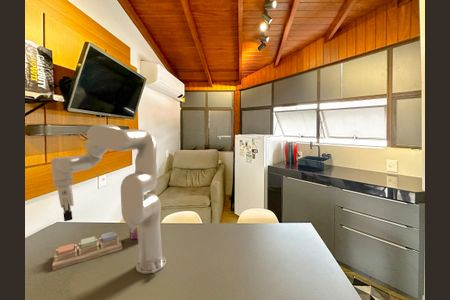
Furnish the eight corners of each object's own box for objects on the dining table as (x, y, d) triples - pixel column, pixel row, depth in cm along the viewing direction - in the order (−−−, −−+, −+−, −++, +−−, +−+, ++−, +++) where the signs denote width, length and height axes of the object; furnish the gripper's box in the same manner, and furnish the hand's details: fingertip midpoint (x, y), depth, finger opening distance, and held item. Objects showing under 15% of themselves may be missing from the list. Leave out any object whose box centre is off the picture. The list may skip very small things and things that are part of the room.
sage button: (96, 246, 109) (95, 240, 109) (81, 250, 106) (81, 244, 106) (95, 241, 114) (94, 236, 114) (81, 245, 111) (80, 239, 110)
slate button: (116, 240, 114) (115, 235, 114) (103, 244, 111) (102, 238, 111) (114, 236, 119) (114, 231, 119) (101, 240, 116) (101, 234, 115)
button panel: (122, 249, 112) (121, 240, 112) (52, 270, 97) (51, 260, 96) (117, 238, 124) (117, 231, 123) (55, 256, 108) (54, 247, 108)
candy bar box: (129, 239, 122) (127, 210, 121) (134, 235, 127) (132, 207, 126) (149, 240, 121) (147, 210, 120) (152, 235, 126) (150, 207, 125)
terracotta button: (74, 254, 104) (73, 248, 104) (58, 259, 101) (57, 252, 101) (74, 249, 109) (73, 243, 109) (59, 253, 106) (58, 247, 106)
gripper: (73, 183, 102) (78, 222, 103) (73, 179, 114) (77, 214, 116) (52, 186, 98) (58, 227, 99) (54, 182, 110) (59, 218, 111)
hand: (68, 219), depth 107 cm, fingers closed
